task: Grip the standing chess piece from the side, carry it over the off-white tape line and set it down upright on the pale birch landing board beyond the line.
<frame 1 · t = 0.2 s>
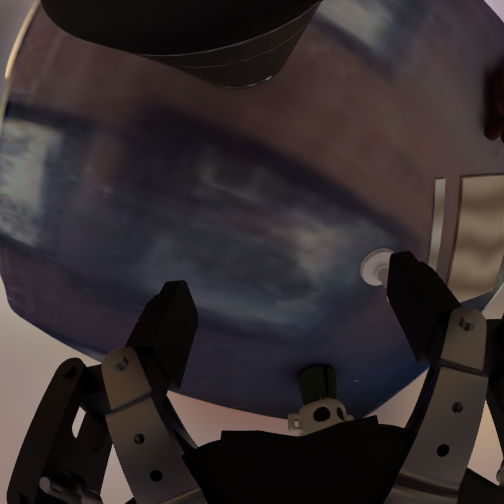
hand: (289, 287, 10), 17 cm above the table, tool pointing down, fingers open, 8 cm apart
character mug: (316, 372, 41), on the table
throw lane: (481, 242, 28), on the table
chess piece: (378, 265, 30), on the table
dark brown lumpy figurine: (497, 92, 17), on the table
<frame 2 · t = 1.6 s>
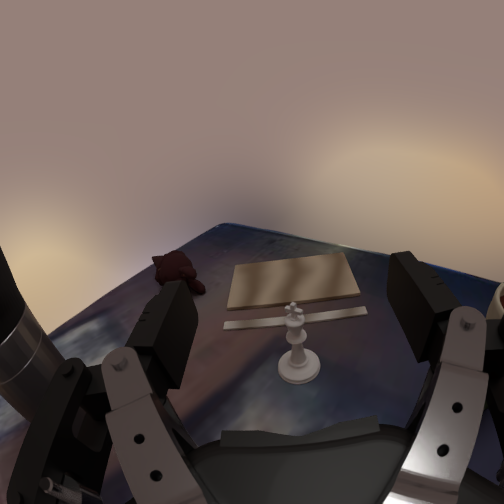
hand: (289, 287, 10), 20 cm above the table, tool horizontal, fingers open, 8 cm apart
character mug: (473, 392, 19), on the table
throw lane: (291, 280, 45), on the table
chess piece: (299, 368, 29), on the table
dark brown lumpy figurine: (179, 285, 50), on the table
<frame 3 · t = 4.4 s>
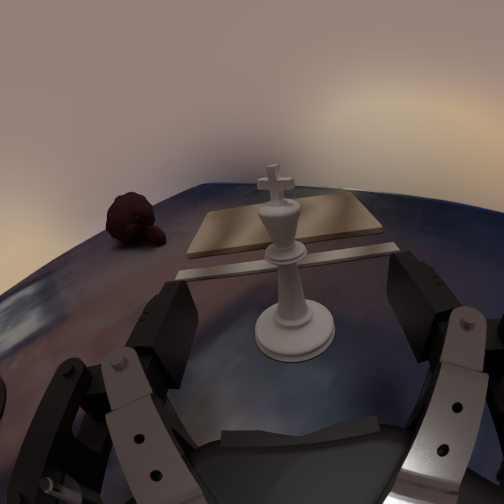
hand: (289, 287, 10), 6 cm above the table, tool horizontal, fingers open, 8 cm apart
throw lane: (282, 221, 32), on the table
chess piece: (295, 333, 16), on the table
dark brown lumpy figurine: (137, 239, 36), on the table
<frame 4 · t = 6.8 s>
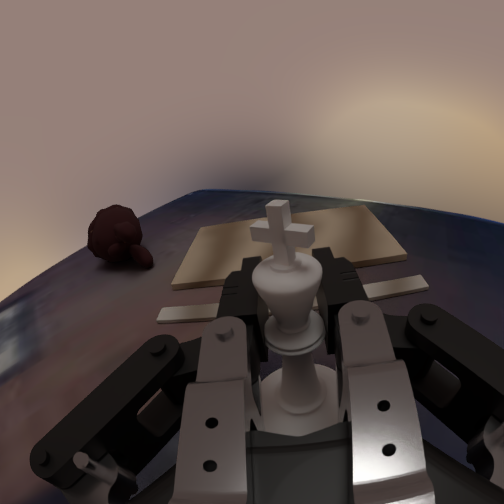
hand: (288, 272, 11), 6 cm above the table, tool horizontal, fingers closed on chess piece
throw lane: (286, 242, 27), on the table
chess piece: (302, 409, 11), on the table, touching gripper
dark brown lumpy figurine: (124, 259, 31), on the table
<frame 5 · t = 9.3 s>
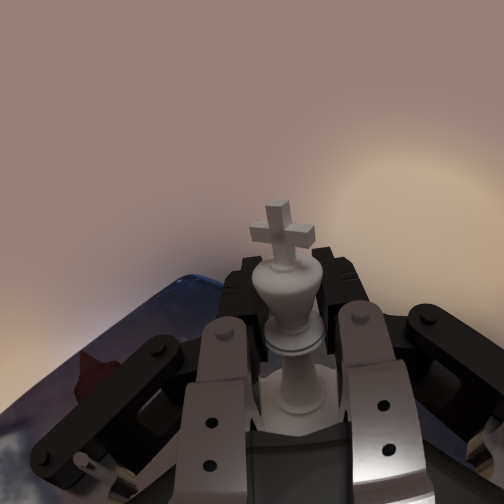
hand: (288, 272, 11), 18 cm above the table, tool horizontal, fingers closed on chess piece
chess piece: (302, 410, 11), point 12 cm above the table, touching gripper
dark brown lumpy figurine: (119, 407, 24), on the table
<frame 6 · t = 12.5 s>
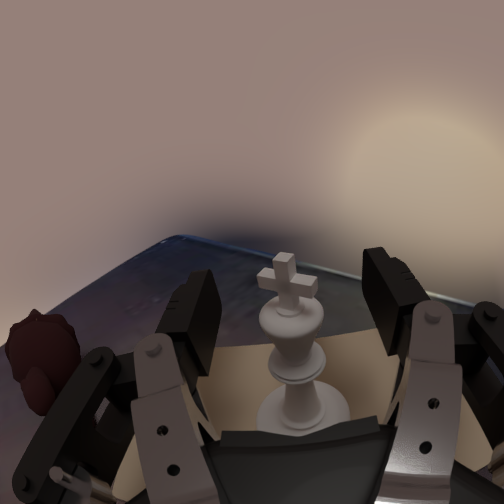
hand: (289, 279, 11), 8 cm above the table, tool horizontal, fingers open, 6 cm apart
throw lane: (303, 424, 12), on the table
chess piece: (303, 423, 12), resting on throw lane
dark brown lumpy figurine: (66, 383, 17), on the table
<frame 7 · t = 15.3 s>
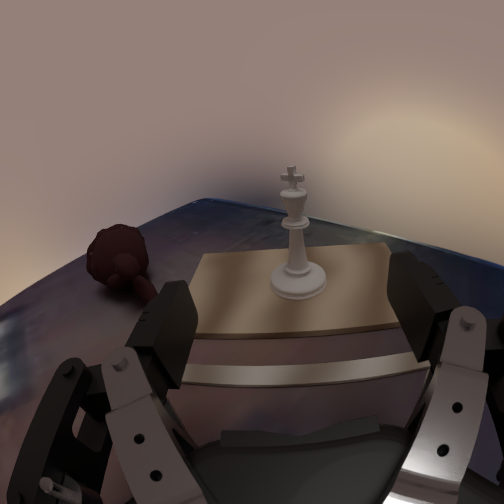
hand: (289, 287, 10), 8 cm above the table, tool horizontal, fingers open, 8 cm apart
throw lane: (298, 286, 24), on the table
chess piece: (298, 283, 23), resting on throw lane
dark brown lumpy figurine: (127, 283, 28), on the table
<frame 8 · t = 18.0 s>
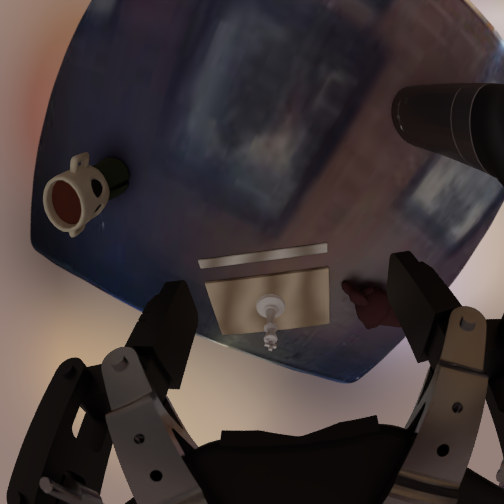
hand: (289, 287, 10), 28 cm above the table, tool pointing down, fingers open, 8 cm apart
character mug: (114, 175, 37), on the table
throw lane: (270, 303, 46), on the table
chess piece: (270, 304, 46), resting on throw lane
dark brown lumpy figurine: (370, 295, 45), on the table
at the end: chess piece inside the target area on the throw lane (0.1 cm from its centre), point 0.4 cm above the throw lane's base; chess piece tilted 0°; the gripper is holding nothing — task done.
